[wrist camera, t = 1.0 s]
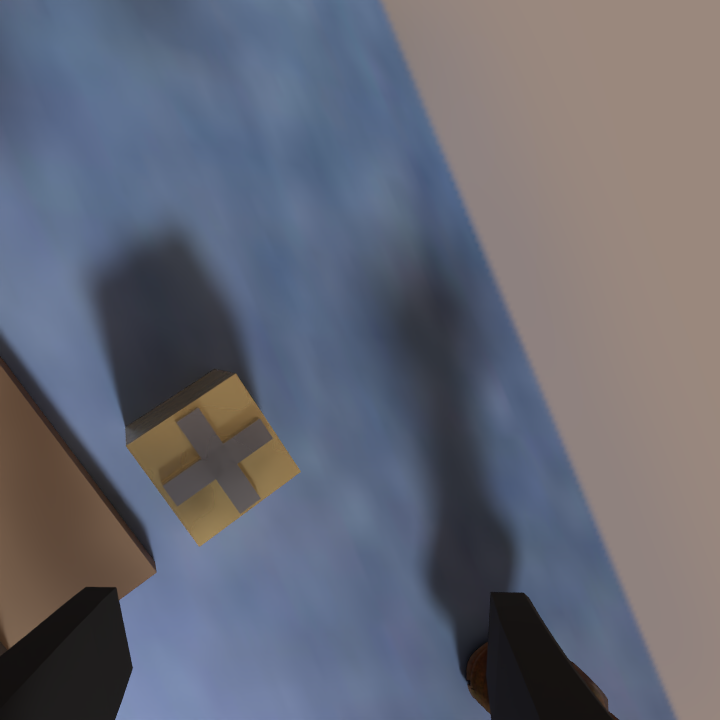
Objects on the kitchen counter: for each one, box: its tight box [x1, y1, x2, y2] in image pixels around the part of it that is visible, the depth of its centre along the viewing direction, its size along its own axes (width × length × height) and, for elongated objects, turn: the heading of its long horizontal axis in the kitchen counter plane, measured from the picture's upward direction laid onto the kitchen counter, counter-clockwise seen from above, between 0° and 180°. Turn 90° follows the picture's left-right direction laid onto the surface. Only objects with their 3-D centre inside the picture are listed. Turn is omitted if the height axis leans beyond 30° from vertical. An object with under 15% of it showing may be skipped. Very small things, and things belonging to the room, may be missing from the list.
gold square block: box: [125, 369, 301, 547], centre depth 22 cm, size 4×4×5 cm
